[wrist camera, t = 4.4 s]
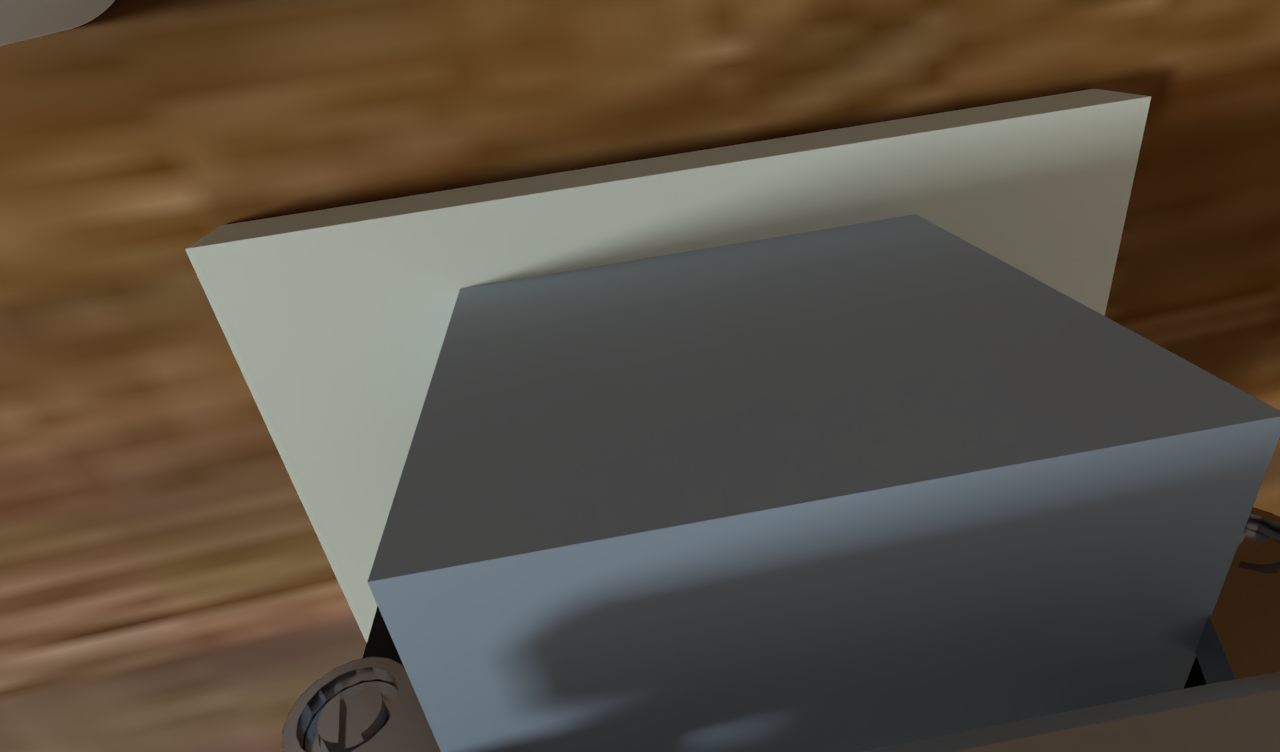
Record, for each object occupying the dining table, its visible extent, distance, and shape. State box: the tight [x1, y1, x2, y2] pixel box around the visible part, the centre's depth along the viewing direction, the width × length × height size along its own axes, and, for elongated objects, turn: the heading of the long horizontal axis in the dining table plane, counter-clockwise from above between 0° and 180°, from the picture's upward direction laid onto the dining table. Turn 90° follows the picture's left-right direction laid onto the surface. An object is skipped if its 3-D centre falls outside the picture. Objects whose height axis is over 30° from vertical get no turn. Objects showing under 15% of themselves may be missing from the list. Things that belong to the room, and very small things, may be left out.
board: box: [185, 89, 1151, 643], centre depth 14 cm, size 19×14×4 cm
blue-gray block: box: [368, 214, 1280, 752], centre depth 9 cm, size 7×7×6 cm
